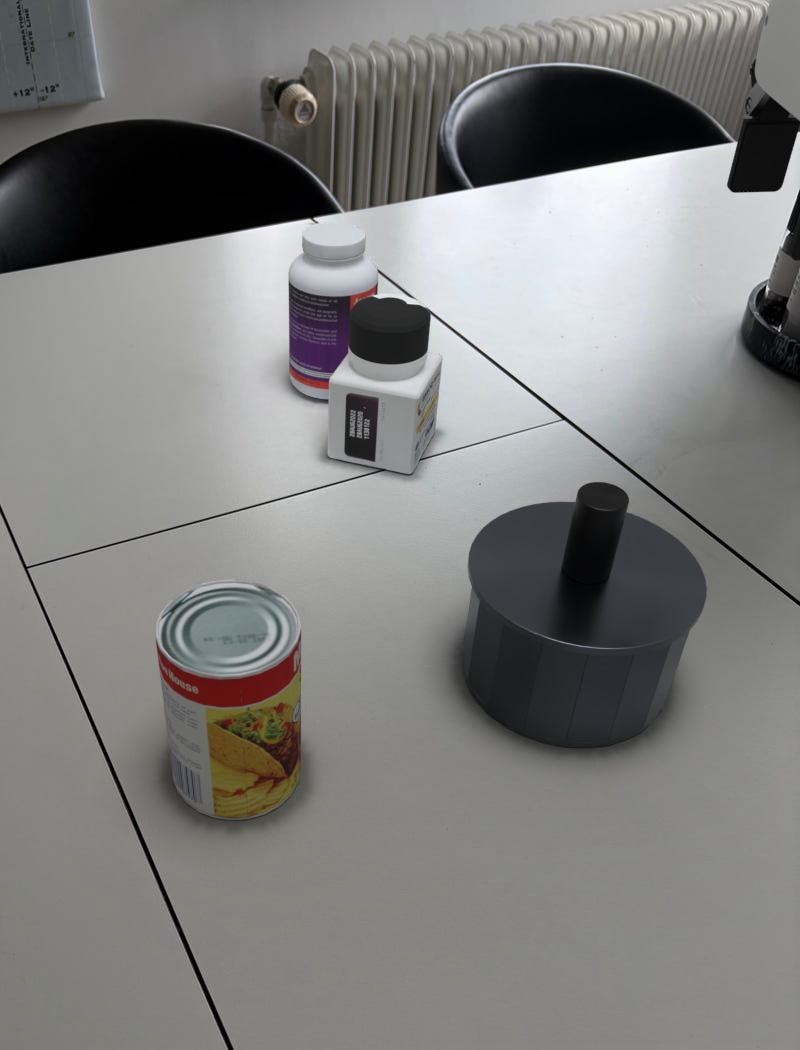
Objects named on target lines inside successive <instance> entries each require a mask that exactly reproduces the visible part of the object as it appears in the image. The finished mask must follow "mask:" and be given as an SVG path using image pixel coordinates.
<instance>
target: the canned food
mask: <svg viewBox="0 0 800 1050" xmlns="http://www.w3.org/2000/svg"><path fill="white" fill-rule="evenodd" d="M154 636H155V637H154V638H155V645H156V653H157V654H156V655H157V660H158V668H159V676H160V677H159V678H160V686H161V693H162V700H163V709H164V716H165V723H166V725H165V726H166V731H167V740H168V747H169V748H168V749H169V756H170V764H171V770H172V779H173V783H174V785H175V788H176V791H177V793H178V794H179V795H180V796H181V798H182V800H183V801H184V802H185V803H186V804H188V806H190V807H191V808H192V809H194V810H196V812H198V813H201V814H203V815H205V816H208V817H211V818H213V819H219V820H227V821H241V820H250V819H253V818H257V817H261V816H264V815H266V814H268V813H270V812H271V811H274V810H276V809H277V808H279V807H280V806H281V805H283V804H284V803H285V802H286V801H287V800H288V799H289V798H291V795H292V794H293V793H294V792H295V789H296V788H297V786H298V784H299V780H300V777H301V772H302V625H301V616H300V613H299V612H298V610H297V608H296V606H295V605H294V603H293V602H292V601H291V600H290V599H289V598H288V597H286V595H284V594H283V593H282V592H280V591H278V590H276V589H275V588H273V587H271V586H270V585H265V584H262V583H259V582H256V581H254V580H253V581H252V580H246V579H245V580H244V579H237V578H235V579H217V580H212V581H208V582H203V583H199V584H196V585H193V586H192V587H189V588H186V589H185V590H183V591H181V592H180V593H178V594H176V595H175V596H174V597H172V598H171V599H170V600H169V601H168V602H167V603H166V604H165V606H164V607H163V608H161V610H160V613H159V615H158V617H157V619H156V621H155V631H154Z"/></svg>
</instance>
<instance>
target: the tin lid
mask: <svg viewBox="0 0 800 1050" xmlns="http://www.w3.org/2000/svg"><path fill="white" fill-rule="evenodd" d="M629 505H630V497H629V494H628V493H627V492H626V491H625V490H624V489H623V488H621V487H619V485H615V484H613V483H610V482H605V481H592V482H587V483H585V484H583V485H581V486H580V487H579V488H578V490H577V493H576V497H575V501H547V502H540V503H539V502H538V503H534V504H529V505H528V504H527V505H524V506H521V507H517V508H515V509H511V510H509V511H507V512H505V513H502V514H500V515H499V516H497V517H496V518H493V519H492V520H490V521H489V522H488V523H487V524H486V525H484V526H483V527H482V528H481V530H479V532H478V533H477V534H476V535H475V537H474V539H473V541H472V542H471V545H470V549H469V551H468V558H467V566H466V567H467V575H468V579H469V583H470V585H471V589H472V588H473V590H474V592H475V594H476V596H477V597H478V599H479V600H480V601H481V603H482V604H483V605H484V607H485V608H486V609H487V610H488V611H489V612H490V613H491V614H492V615H493V616H494V617H496V618H497V619H498V620H499V621H501V622H502V623H503V624H504V625H506V626H508V627H509V628H511V629H512V630H514V631H516V632H517V633H519V634H521V635H523V636H525V637H527V638H529V639H531V640H534V641H536V642H539V643H541V644H544V645H546V646H550V647H553V648H557V649H560V650H564V651H569V652H573V653H578V654H586V655H595V656H623V655H633V654H639V653H644V652H648V651H652V650H655V649H659V648H661V647H663V646H666V645H668V644H671V643H672V642H674V641H676V640H677V639H679V638H681V637H682V636H683V635H684V634H686V633H687V632H688V631H689V630H690V631H691V630H692V628H693V627H694V626H695V625H696V624H697V622H698V621H699V619H700V617H701V615H702V614H703V611H704V608H705V604H706V600H707V594H708V593H707V592H708V586H707V582H706V576H705V574H704V571H703V568H702V567H701V565H700V563H699V561H698V560H697V558H696V557H695V555H694V554H693V553H692V552H691V551H690V548H687V546H686V545H684V543H683V542H682V541H680V540H679V539H678V538H677V537H676V536H674V535H673V534H672V533H670V532H668V530H665V528H662V527H661V526H659V525H658V524H656V523H654V522H652V521H650V520H648V519H646V518H643V517H641V516H639V515H636V514H634V513H631V512H629V511H628V507H629ZM690 631H689V632H690Z"/></svg>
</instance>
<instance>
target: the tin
mask: <svg viewBox="0 0 800 1050" xmlns="http://www.w3.org/2000/svg"><path fill="white" fill-rule="evenodd" d="M470 589H471V590H470V597H469V602H468V612H467V616H466V617H467V618H466V625H465V632H464V638H463V645H462V651H461V658H462V672H463V676H464V680H465V684H466V685H467V688H468V689H469V691H470V694H471V695H472V696H473V698H474V699H475V701H476V702H477V703H478V704H479V706H480V707H481V708H482V710H484V712H486V713H487V714H488V715H490V717H492V718H493V720H496V721H497V722H498V723H500V724H501V725H503V726H504V727H506V728H508V729H510V730H511V731H512V732H515V733H516V734H519V735H522V736H524V737H526V738H529V739H531V740H535V741H537V742H539V743H540V742H541V743H545V744H548V745H553V746H559V747H567V748H580V749H581V748H584V749H585V748H600V747H605V746H610V745H614V744H617V743H621V742H625V741H626V740H628V739H631V738H633V737H635V736H636V735H638V734H640V733H641V732H643V731H644V730H646V729H647V728H648V727H649V726H650V725H651V724H652V723H653V722H654V721H655V720H656V718H657V717H658V715H659V713H660V712H661V710H662V709H663V708H665V707H664V706H665V704H666V701H667V698H668V696H669V693H670V690H671V688H672V684H673V681H674V679H675V675H676V672H677V670H678V667H679V663H680V660H681V659H682V655H683V653H684V650H685V649H684V648H685V646H686V643H687V639H688V638H689V634H690V631H691V629H690V630H689V631H688V632H687V633H686V634H684V635H683V636H682V637H681V638H679V639H677V640H676V641H674V642H672V643H671V644H668V645H666V646H663V647H661V648H659V649H655V650H652V651H648V652H644V653H639V654H633V655H623V656H595V655H586V654H578V653H573V652H569V651H564V650H560V649H557V648H553V647H550V646H546V645H544V644H541V643H539V642H536V641H534V640H531V639H529V638H527V637H525V636H523V635H521V634H519V633H517V632H516V631H514V630H512V629H511V628H509V627H508V626H506V625H504V624H503V623H502V622H501V621H499V620H498V619H497V618H496V617H494V616H493V615H492V614H491V613H490V612H489V611H488V610H487V609H486V608H485V607H484V605H483V604H482V603H481V601H480V600H479V599H478V597H477V596H476V594H475V592H474V590H473V588H472V587H471V588H470Z"/></svg>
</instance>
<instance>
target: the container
mask: <svg viewBox="0 0 800 1050" xmlns="http://www.w3.org/2000/svg"><path fill="white" fill-rule="evenodd" d="M431 319H432V315H431V312H430V310H429V308H427V306H426V305H425V304H424V303H422V302H421V301H420V300H418V299H415V298H413V297H410V296H407V295H403V294H398V293H377V295H373V296H369V297H366V298H363V299H361V300H359V301H358V302H357V303H356V304H355V305H354V306H353V307H352V308H351V310H350V317H349V347H348V354H347V356H346V357H345V358H344V360H343V361H342V362H341V364H340V365H339V366H338V368H337V369H336V370H335V372H334V373H333V375H332V376H331V377H330V379H329V400H328V410H327V411H328V416H327V422H328V423H327V456H328V457H329V458H330V459H334V460H339V461H344V462H349V463H353V464H357V465H363V466H367V467H373V468H376V469H382V470H386V471H392V472H396V473H400V474H406V475H411V474H412V473H414V471H415V469H416V468H417V465H418V463H419V462H420V459H421V457H422V456H423V454H424V452H425V450H426V448H427V447H428V445H429V444H430V441H431V439H432V437H433V435H434V434H435V431H436V427H437V426H436V425H437V417H438V406H439V397H440V387H441V386H440V385H441V375H442V365H443V356H442V355H443V354H442V355H441V353H440V352H439V353H438V352H434V351H433V352H431V351H429V342H430V333H431V332H430V330H431V321H432V320H431Z"/></svg>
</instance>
